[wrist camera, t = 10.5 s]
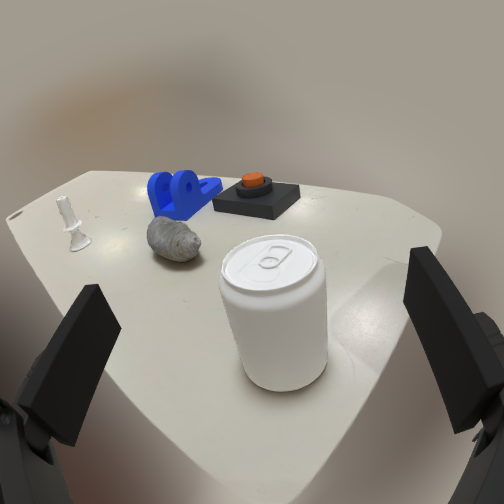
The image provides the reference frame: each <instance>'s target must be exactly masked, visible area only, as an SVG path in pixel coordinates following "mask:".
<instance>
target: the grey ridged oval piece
mask: <svg viewBox="0 0 504 504" xmlns="http://www.w3.org/2000/svg"><path fill="white" fill-rule="evenodd" d="M147 240H148V244H149V245H150V247H151V248H152V250H153V251H154V252H155V253H157V254H159V255H161V256H163V257H165V258H167V259H170V260H174V261H178V262H184V261H185V262H186V261H189V260H190V259H191V258H194V257H195V256H196V255H197V253H198V250H199V247H200V245H201V240H200V239H199V237H197V235H196V233H194V232H192V231H191V230H190V229H189V228H188V226H187V225H186V224H183V223H182V222H175V221H174V220H172V219H170V218H167V217H164V216H162V217H161V216H159V217H156V218H155V219H153V221H152V222H151V223H150V224H149V225H148V229H147Z"/></svg>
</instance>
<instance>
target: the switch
mask: <svg viewBox="0 0 504 504" xmlns="http://www.w3.org/2000/svg"><path fill="white" fill-rule="evenodd" d="M242 181H243V186H244V187H256V186H259V185H262V184H263V183H264V179H263V174H262V173H250V174H246V175H244V176H243V177H242Z"/></svg>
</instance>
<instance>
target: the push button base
mask: <svg viewBox="0 0 504 504" xmlns="http://www.w3.org/2000/svg"><path fill="white" fill-rule="evenodd" d="M263 179H264V183H263V184H262V185H259V186H256V187H244V186H243V181H242V180H241V181H239V182H238V183H236V184H235V185H233V186H231V187H230V188H228V189H226V190H225V191H223V192H221V193H220V194H218V195H217V196H215V197H213V198H212V202H213V206H214V210H215V211H220V212H227V213H233V214H240V215H247V216H253V217H259V218H266V219H272V220H274V219H276V218H277V217H278V216H279V215H280V214H282V213H283V212H284V211H285V210H286V209H287V208H289V207H290V206H291V205H292V204H293V203H294V202H296V201H297V200H298V199H299V198H300V189H299V185H296V184H285V183H274V182H272V179H270V178H269V177H263Z"/></svg>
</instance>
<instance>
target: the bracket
mask: <svg viewBox="0 0 504 504" xmlns="http://www.w3.org/2000/svg"><path fill="white" fill-rule="evenodd" d="M222 190H223V187H222V183H221V179H220V178H215V177H212V178H205V179H201V180H198V177H197V175H196V174H195V173H194V172H193V171H191V170H183V171H178V172H176V173H175V174H174V175H173V176H172V175H171V174H170V173H168V172H159V173H155V174H153V175H152V176H151V177H150V179H149V181H148V186H147V192H148V196H149V199H150V203H151V206H152V209H153V212H154V215H155V218H156V217H159V216H161V217H162V216H164V217H167V218H170V219H172V220H188V219H189V218H190V217H191V216H192V215H194V214H195V213H196V212H197V211H198V210H199V209H201V208H202V207H203V206H204V205H205V204H207V203H208V202H209V201H210V200H211V199H212V198H213V197H215V196H216V195H217V194H219V193H220V192H221V191H222Z"/></svg>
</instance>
